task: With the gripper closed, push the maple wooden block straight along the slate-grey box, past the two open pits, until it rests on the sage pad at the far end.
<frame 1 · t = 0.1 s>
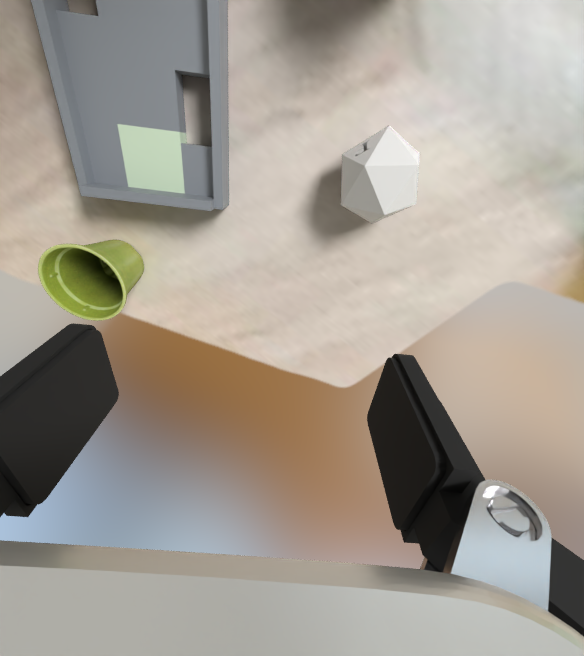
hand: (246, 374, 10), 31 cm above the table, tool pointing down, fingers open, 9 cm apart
die: (371, 176, 34), on the table
plant pot: (122, 260, 40), on the table
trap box: (148, 57, 29), on the table
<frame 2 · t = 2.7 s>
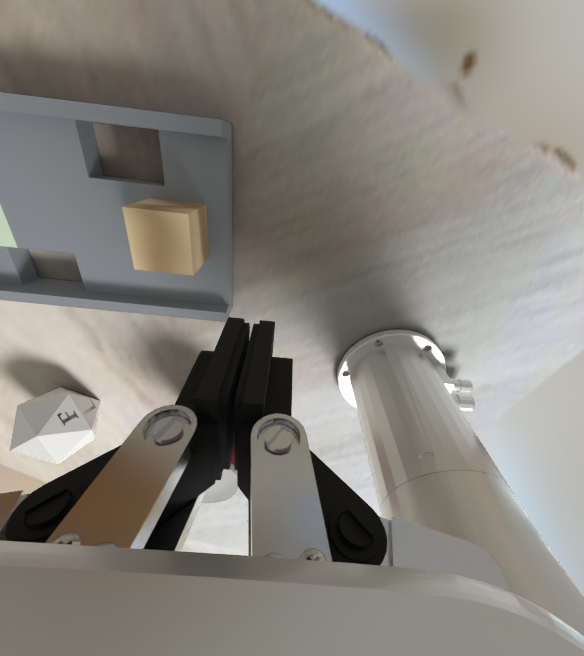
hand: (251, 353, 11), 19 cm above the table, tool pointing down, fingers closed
canned food: (226, 402, 39), on the table
die: (80, 399, 39), on the table
block: (181, 229, 25), point 2 cm above the table, touching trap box
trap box: (89, 213, 26), on the table
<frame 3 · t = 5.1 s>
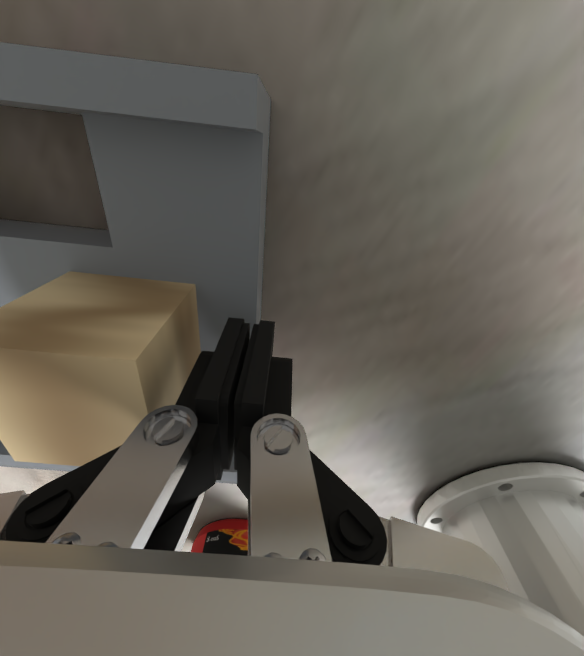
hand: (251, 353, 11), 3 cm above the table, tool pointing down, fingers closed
canned food: (239, 535, 26), on the table
block: (143, 329, 12), point 2 cm above the table, touching gripper, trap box
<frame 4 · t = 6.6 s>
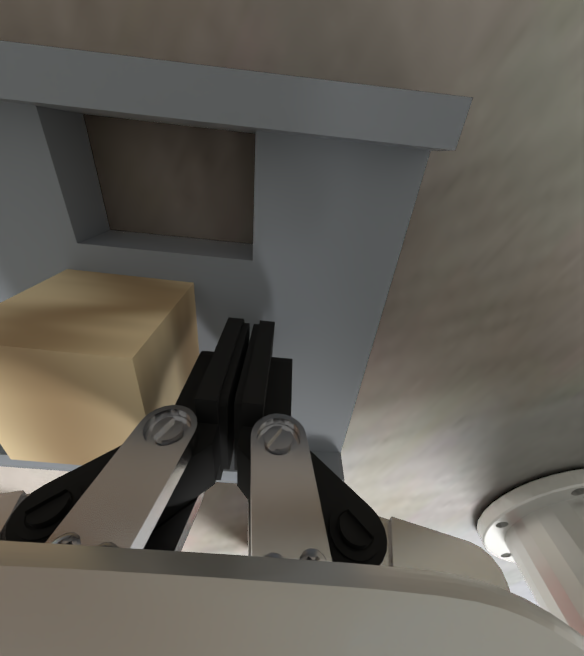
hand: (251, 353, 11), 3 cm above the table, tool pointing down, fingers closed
block: (141, 328, 12), point 2 cm above the table, touching gripper, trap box
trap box: (82, 298, 13), on the table
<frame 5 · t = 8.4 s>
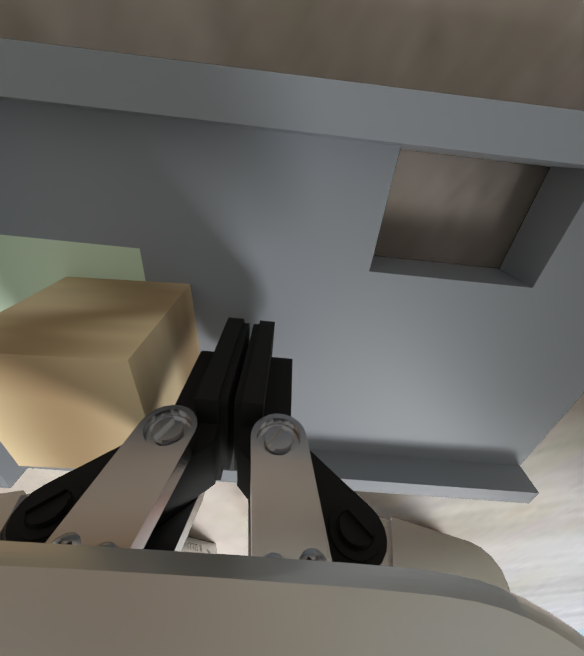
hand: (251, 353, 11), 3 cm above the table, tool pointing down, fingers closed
die: (185, 540, 26), on the table
block: (142, 331, 12), point 2 cm above the table, touching gripper, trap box
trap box: (301, 317, 13), on the table
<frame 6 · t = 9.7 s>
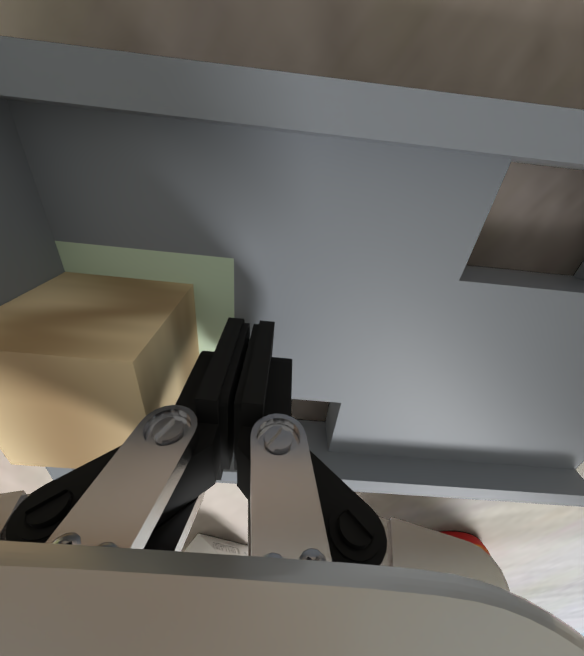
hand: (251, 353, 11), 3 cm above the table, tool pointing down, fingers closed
die: (219, 543, 27), on the table
block: (141, 330, 11), point 2 cm above the table, touching gripper, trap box
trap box: (369, 324, 13), on the table
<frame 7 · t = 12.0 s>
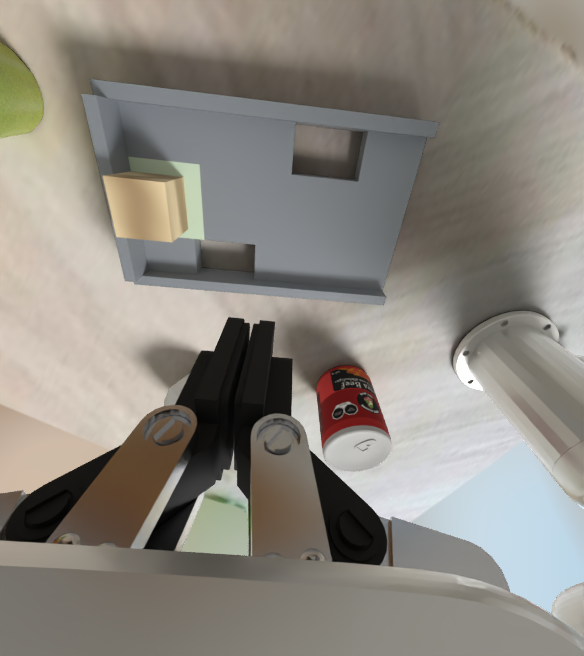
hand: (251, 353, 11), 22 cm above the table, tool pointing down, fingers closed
canned food: (342, 383, 42), on the table
die: (204, 384, 42), on the table
plant pot: (7, 89, 24), on the table
block: (161, 201, 26), point 2 cm above the table, touching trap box
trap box: (268, 207, 28), on the table
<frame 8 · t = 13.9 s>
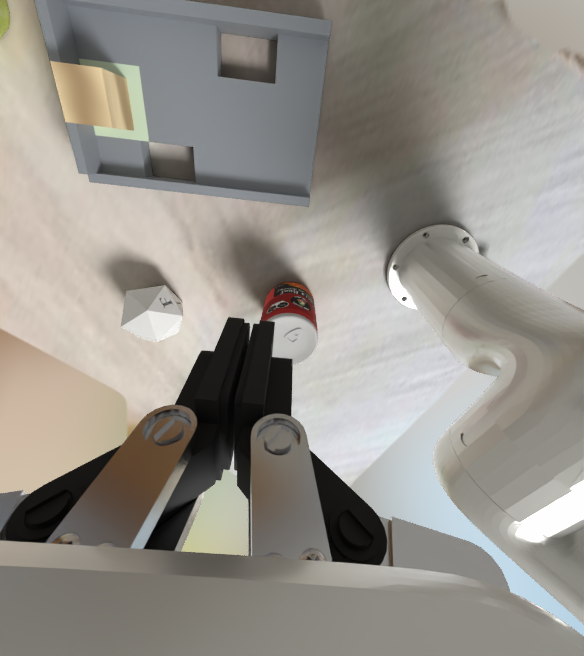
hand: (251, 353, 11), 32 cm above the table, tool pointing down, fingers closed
canned food: (289, 302, 46), on the table
die: (164, 301, 46), on the table
block: (109, 102, 31), point 2 cm above the table, touching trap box
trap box: (205, 114, 33), on the table
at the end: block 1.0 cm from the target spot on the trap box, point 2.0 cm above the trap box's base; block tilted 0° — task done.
